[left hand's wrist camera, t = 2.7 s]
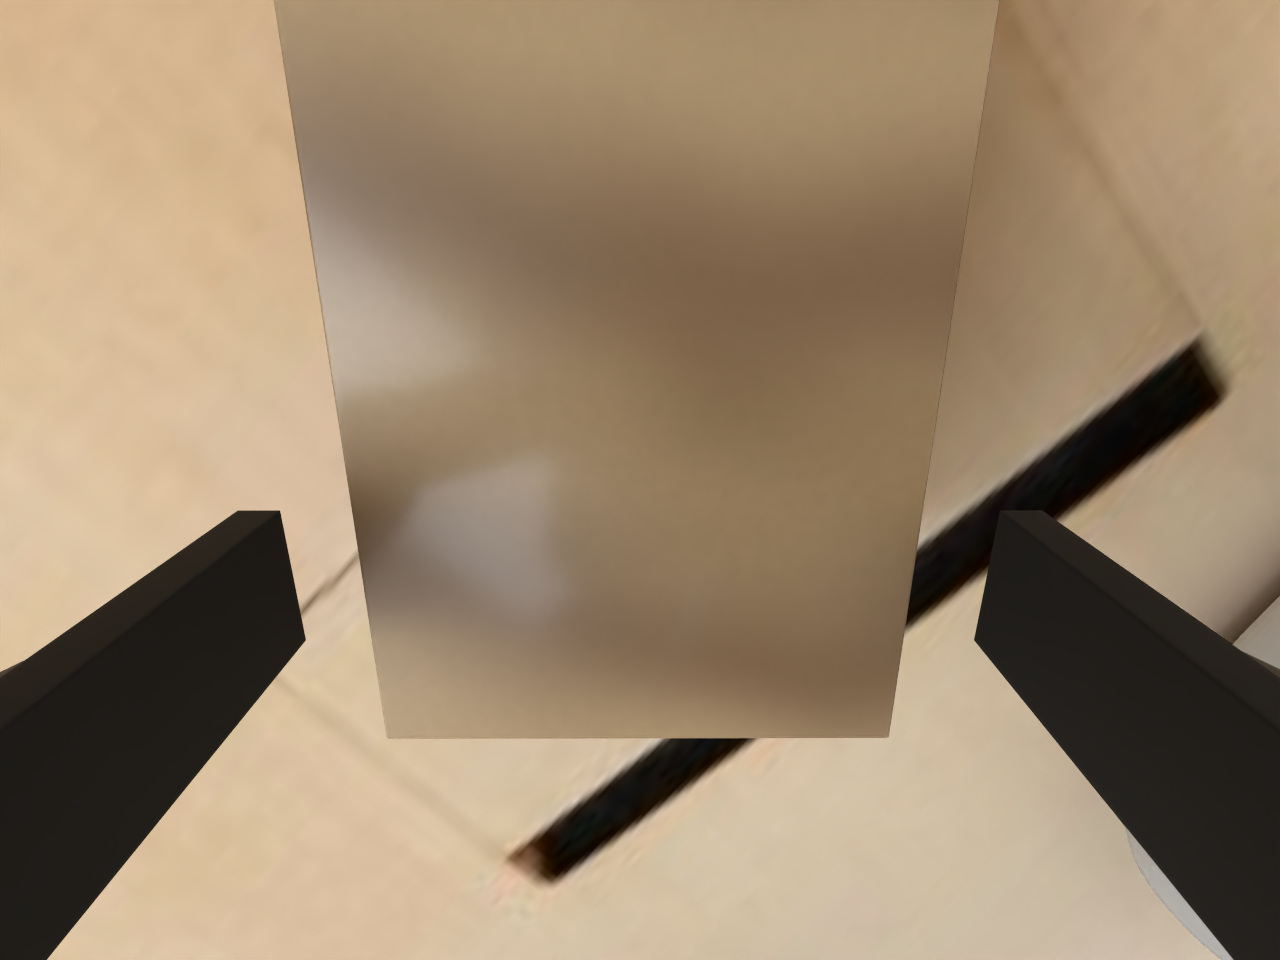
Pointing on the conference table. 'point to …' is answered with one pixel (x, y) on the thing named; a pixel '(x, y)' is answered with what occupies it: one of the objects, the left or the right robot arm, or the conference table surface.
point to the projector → (1268, 639)
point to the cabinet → (637, 346)
